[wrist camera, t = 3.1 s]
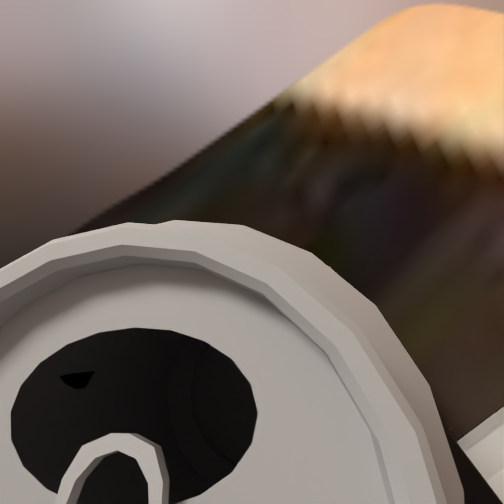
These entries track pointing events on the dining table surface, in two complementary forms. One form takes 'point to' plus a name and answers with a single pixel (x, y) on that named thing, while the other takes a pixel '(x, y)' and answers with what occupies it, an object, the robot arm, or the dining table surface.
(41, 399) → the can
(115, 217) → the dining table surface
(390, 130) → the dining table surface
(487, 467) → the tray
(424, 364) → the dining table surface
